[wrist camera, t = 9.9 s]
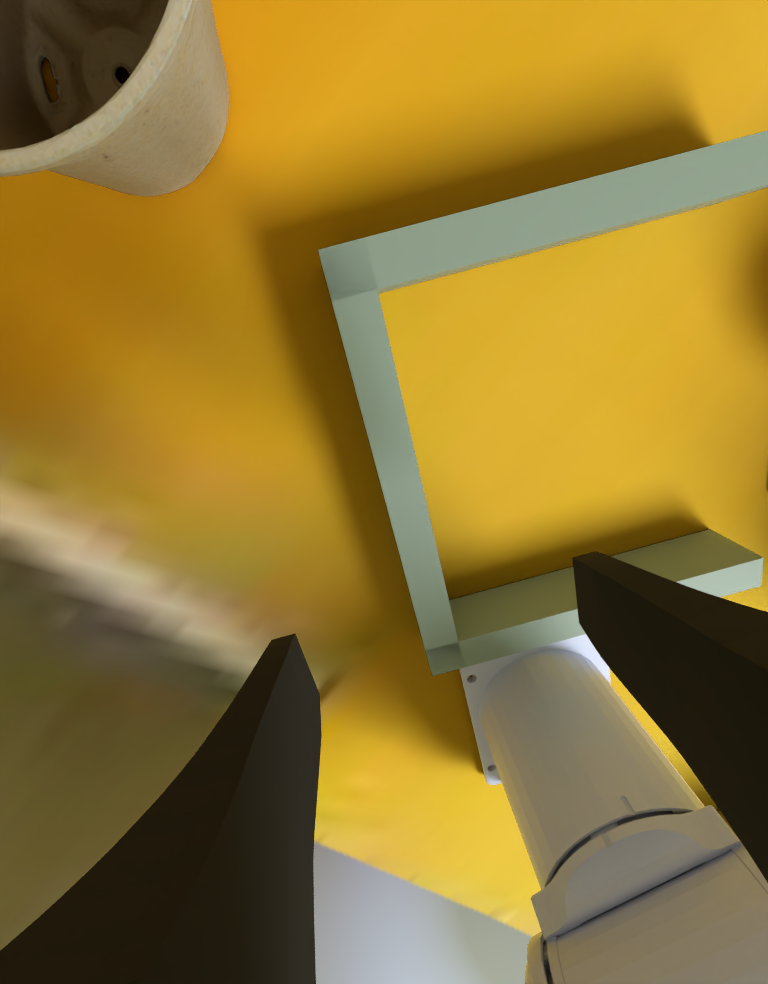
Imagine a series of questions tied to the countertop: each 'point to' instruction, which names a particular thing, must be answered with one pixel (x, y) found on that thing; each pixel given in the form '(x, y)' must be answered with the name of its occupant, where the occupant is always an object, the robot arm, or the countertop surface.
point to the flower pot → (112, 91)
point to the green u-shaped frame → (354, 295)
